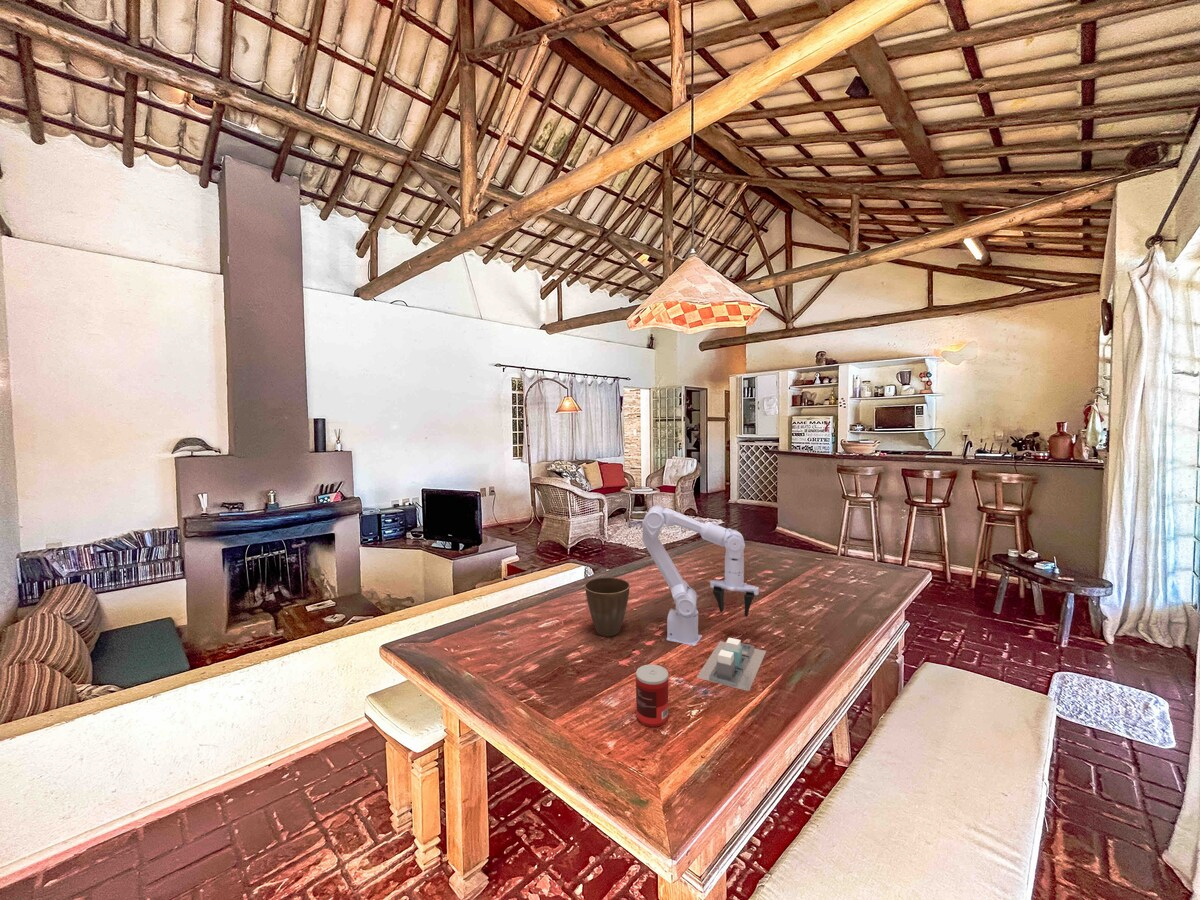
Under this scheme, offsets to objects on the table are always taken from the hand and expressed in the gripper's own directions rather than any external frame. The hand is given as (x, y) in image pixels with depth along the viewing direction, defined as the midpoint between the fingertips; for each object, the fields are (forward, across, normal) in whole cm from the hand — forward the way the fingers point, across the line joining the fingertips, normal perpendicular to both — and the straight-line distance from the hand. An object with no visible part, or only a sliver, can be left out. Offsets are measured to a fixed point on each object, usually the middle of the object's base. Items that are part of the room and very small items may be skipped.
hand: (733, 613), depth 149 cm
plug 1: (+9, +3, -13) cm, 16 cm away
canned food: (+10, -8, -46) cm, 48 cm away
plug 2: (+9, +3, -21) cm, 23 cm away
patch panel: (+10, +3, -13) cm, 17 cm away
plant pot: (+10, -39, -11) cm, 42 cm away
